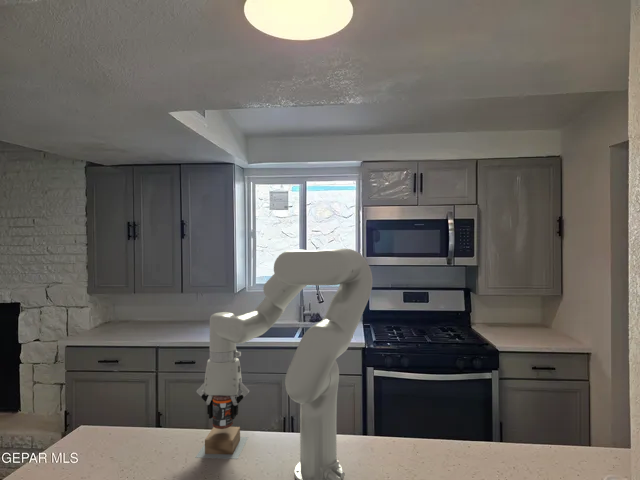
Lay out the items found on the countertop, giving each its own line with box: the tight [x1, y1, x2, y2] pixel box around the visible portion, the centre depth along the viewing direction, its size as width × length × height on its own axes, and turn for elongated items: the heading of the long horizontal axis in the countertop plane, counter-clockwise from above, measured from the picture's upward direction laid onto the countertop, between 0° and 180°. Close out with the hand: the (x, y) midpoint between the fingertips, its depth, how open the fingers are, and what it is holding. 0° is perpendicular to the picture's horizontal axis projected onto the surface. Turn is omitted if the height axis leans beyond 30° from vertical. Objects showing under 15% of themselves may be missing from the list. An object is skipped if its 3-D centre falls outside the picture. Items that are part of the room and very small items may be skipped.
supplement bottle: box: [212, 395, 234, 429], centre depth 115 cm, size 6×6×11 cm
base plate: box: [195, 436, 249, 460], centre depth 115 cm, size 12×12×1 cm
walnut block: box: [204, 426, 241, 455], centre depth 115 cm, size 8×8×4 cm
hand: (222, 416), depth 115 cm, fingers closed on supplement bottle, 6 cm apart
